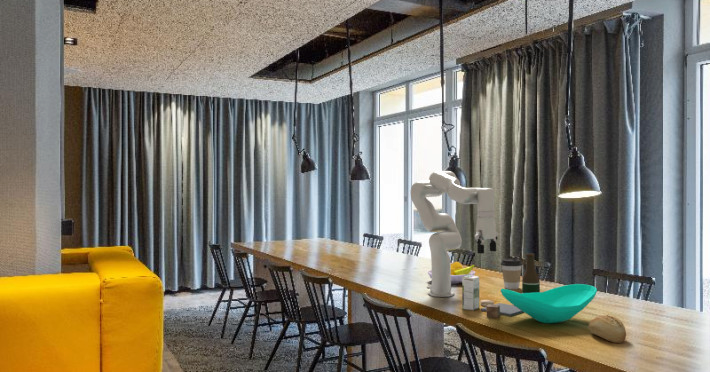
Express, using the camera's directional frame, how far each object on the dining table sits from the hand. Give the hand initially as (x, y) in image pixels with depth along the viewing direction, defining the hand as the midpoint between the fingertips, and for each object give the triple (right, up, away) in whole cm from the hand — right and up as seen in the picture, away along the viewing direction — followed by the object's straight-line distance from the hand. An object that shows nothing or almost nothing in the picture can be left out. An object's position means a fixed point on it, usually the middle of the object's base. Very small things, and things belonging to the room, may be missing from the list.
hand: (487, 252), depth 255 cm
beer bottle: (+19, -24, -3) cm, 31 cm away
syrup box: (-8, -25, -5) cm, 27 cm away
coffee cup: (+23, -24, +41) cm, 52 cm away
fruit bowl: (-5, -25, +61) cm, 66 cm away
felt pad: (+5, -25, -10) cm, 27 cm away
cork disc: (0, -25, +1) cm, 25 cm away
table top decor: (+18, -25, -30) cm, 43 cm away
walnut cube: (-2, -25, -20) cm, 32 cm away
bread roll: (+30, -25, -55) cm, 68 cm away
